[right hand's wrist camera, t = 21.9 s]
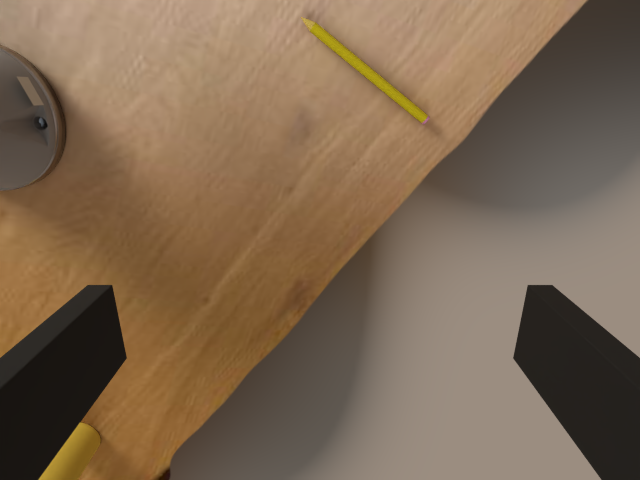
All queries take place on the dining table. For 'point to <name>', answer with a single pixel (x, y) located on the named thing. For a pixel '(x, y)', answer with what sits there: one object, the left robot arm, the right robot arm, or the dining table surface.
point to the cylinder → (73, 454)
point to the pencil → (365, 70)
